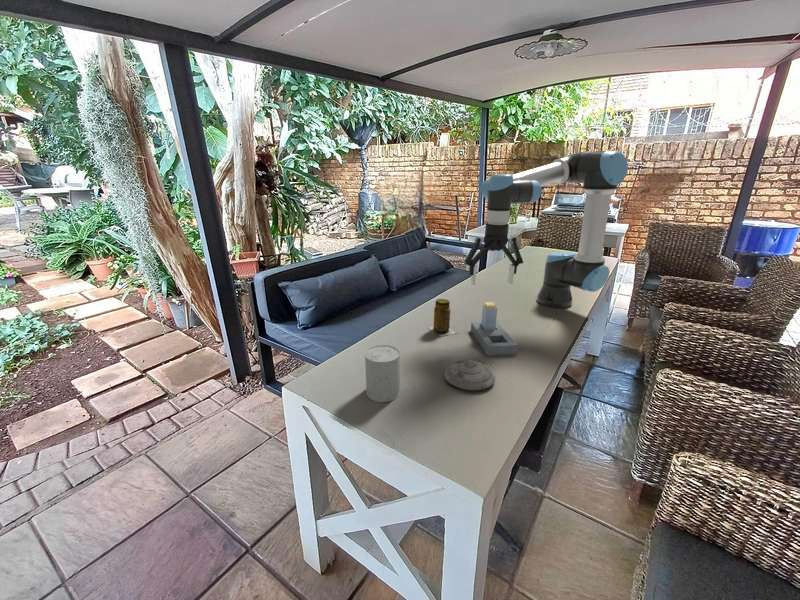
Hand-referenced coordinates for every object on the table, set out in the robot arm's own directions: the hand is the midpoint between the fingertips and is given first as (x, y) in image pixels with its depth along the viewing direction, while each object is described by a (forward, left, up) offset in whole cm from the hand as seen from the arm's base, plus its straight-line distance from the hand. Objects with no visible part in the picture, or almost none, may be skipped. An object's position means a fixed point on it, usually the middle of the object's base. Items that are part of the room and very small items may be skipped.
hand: (491, 283), depth 130 cm
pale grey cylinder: (+41, +32, -21) cm, 56 cm away
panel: (0, +5, -21) cm, 21 cm away
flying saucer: (+15, +28, -21) cm, 38 cm away
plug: (0, 0, -20) cm, 20 cm away
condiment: (+16, -6, -21) cm, 27 cm away
